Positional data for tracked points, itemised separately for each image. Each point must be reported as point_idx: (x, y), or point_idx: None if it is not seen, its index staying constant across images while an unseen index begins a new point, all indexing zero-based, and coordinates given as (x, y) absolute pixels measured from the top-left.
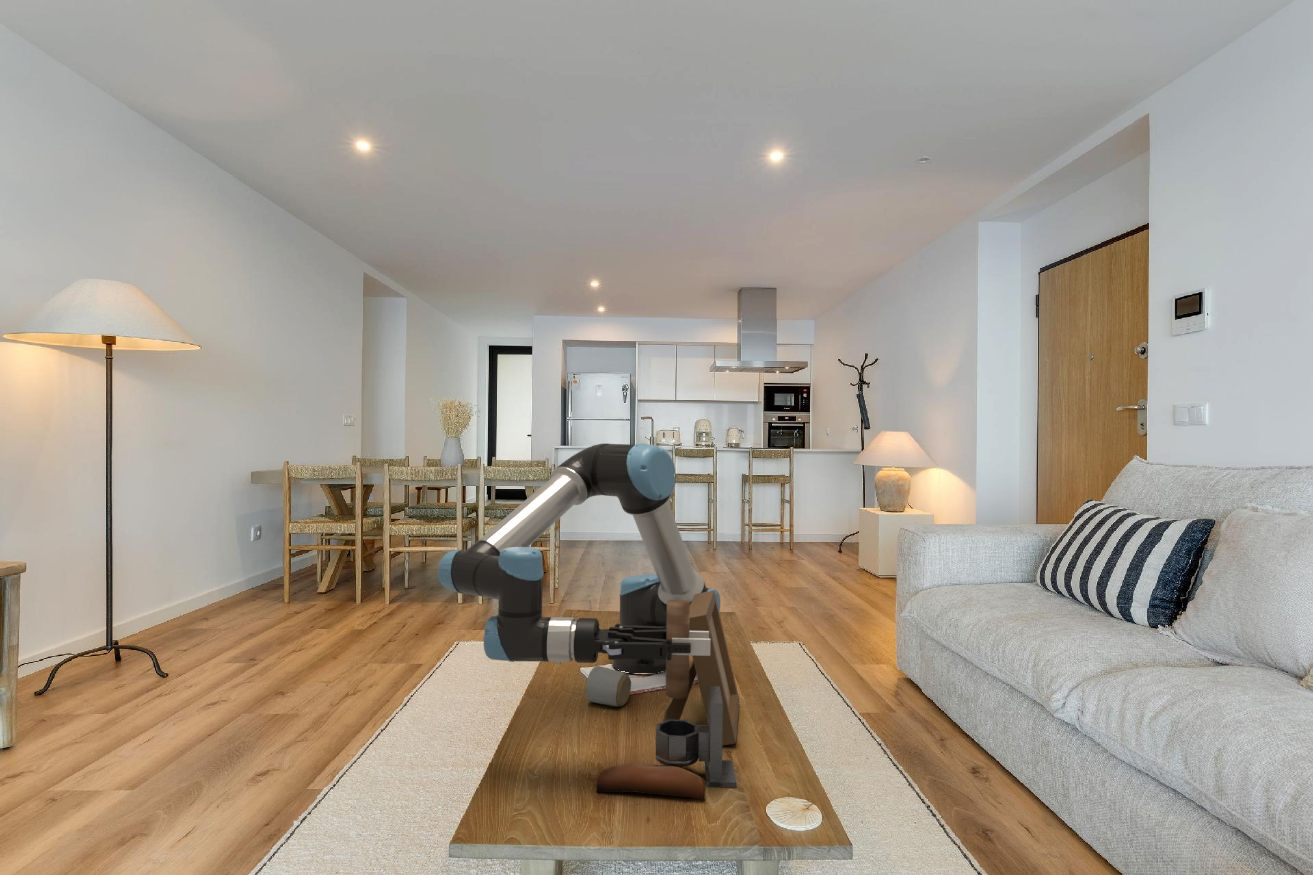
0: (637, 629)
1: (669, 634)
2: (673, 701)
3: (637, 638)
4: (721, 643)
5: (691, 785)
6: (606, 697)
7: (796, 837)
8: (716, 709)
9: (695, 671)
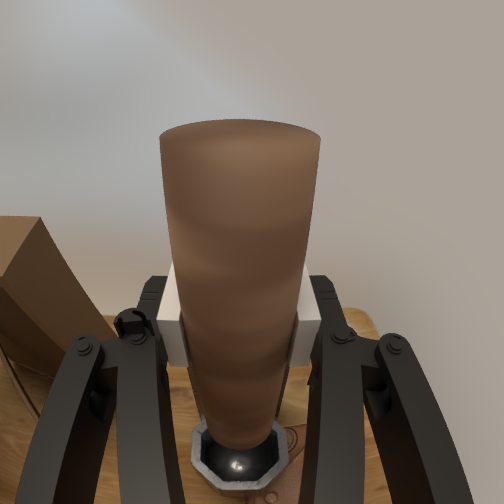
0: (61, 494)
1: (284, 324)
2: None
3: (348, 499)
4: None
5: None
6: None
7: (366, 336)
8: None
9: (9, 362)
